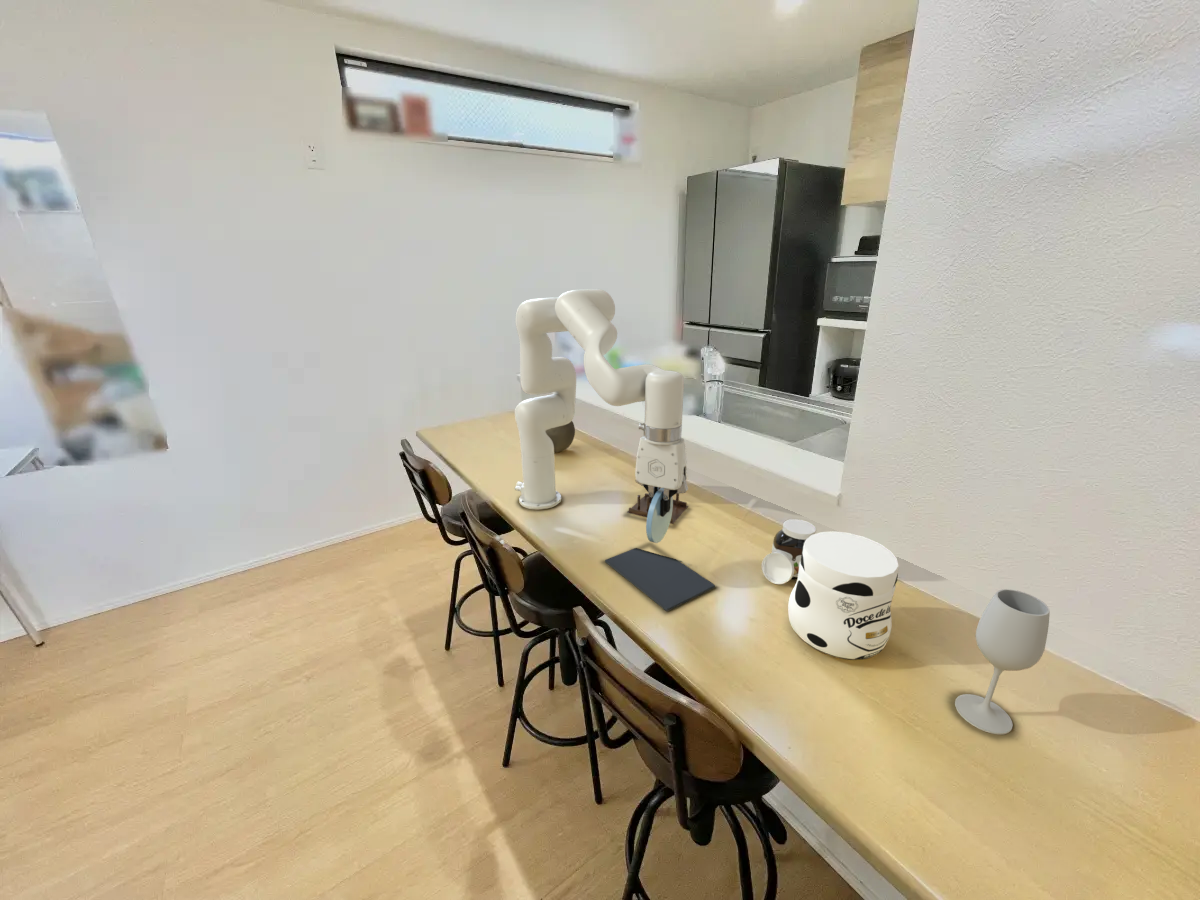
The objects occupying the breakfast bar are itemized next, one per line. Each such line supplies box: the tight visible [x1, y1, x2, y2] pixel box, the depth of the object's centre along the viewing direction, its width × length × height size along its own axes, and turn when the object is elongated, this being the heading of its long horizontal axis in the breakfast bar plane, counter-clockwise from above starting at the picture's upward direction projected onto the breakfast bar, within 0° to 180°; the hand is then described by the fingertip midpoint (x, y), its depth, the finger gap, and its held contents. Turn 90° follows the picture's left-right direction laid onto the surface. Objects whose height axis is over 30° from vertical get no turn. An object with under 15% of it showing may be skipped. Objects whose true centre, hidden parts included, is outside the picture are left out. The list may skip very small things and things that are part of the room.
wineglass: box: [954, 588, 1051, 736], centre depth 73 cm, size 8×8×21 cm
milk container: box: [787, 530, 899, 661], centre depth 90 cm, size 17×17×18 cm
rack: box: [626, 487, 689, 525], centre depth 139 cm, size 14×12×6 cm
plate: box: [645, 488, 674, 544], centre depth 107 cm, size 1×12×12 cm, turn 151°
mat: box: [604, 547, 716, 612], centre depth 112 cm, size 22×14×1 cm, turn 34°
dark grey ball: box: [546, 420, 576, 453], centre depth 184 cm, size 14×14×15 cm
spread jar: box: [761, 518, 817, 585], centre depth 109 cm, size 12×11×12 cm
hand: (660, 512), depth 106 cm, fingers closed on plate, 1 cm apart
